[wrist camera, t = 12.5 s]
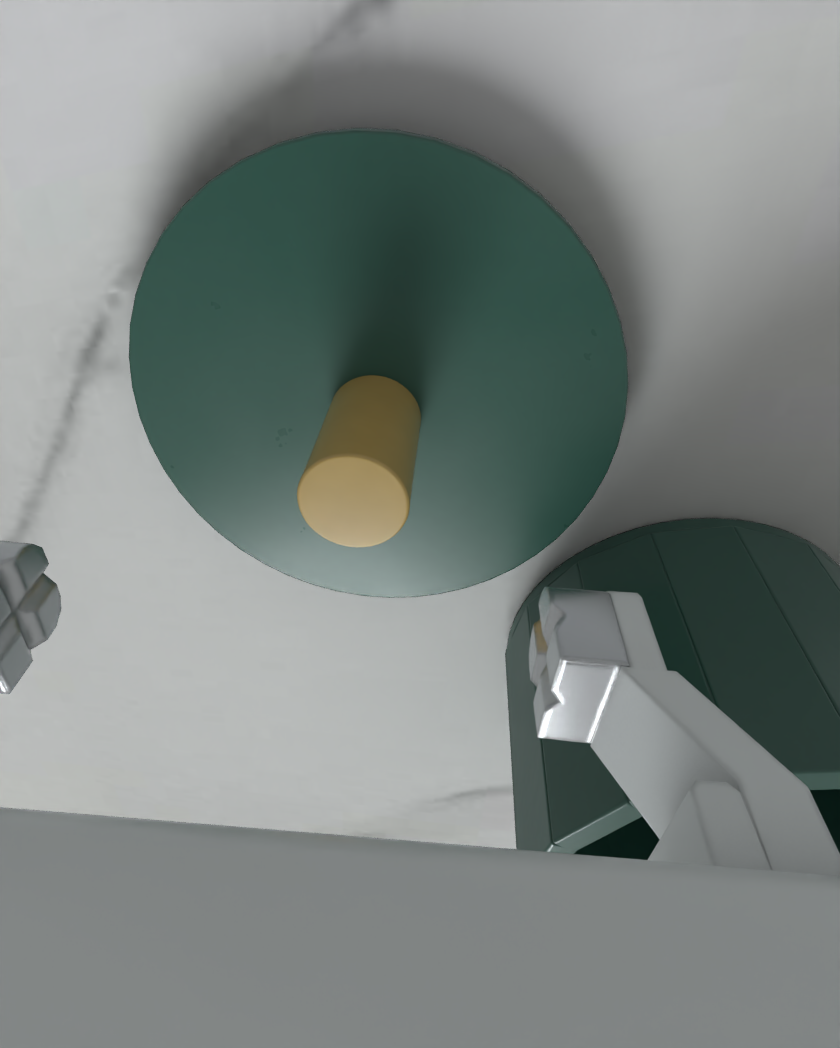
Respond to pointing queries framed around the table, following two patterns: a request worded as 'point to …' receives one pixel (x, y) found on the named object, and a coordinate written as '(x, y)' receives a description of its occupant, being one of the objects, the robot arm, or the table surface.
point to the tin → (692, 670)
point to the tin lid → (378, 363)
